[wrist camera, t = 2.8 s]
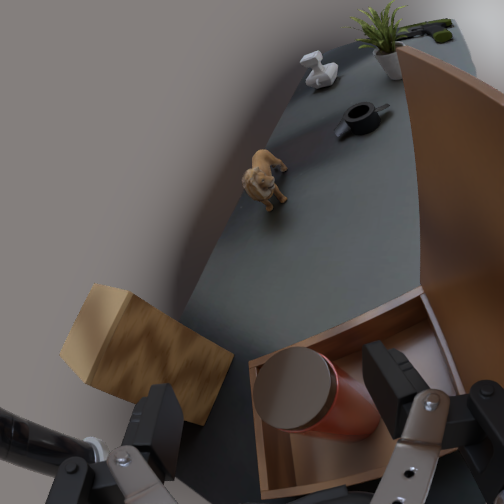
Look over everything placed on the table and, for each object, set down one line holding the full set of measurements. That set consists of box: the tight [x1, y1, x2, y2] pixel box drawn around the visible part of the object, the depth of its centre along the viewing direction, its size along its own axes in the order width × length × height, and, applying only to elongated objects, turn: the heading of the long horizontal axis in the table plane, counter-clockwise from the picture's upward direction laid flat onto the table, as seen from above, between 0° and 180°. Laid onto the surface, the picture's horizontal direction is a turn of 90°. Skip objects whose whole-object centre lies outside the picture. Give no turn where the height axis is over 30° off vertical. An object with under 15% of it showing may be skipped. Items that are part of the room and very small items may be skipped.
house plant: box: [350, 0, 408, 80], centre depth 48 cm, size 14×14×16 cm
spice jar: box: [253, 347, 381, 444], centre depth 22 cm, size 6×6×12 cm
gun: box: [391, 18, 452, 42], centre depth 57 cm, size 2×19×15 cm
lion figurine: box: [242, 150, 287, 211], centre depth 51 cm, size 15×5×9 cm, turn 2°
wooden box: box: [249, 286, 466, 500], centre depth 24 cm, size 18×14×6 cm
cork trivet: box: [60, 283, 133, 385], centre depth 30 cm, size 10×10×1 cm
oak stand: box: [90, 294, 234, 426], centre depth 36 cm, size 10×10×16 cm
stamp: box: [300, 51, 338, 89], centre depth 65 cm, size 9×7×8 cm
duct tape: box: [334, 102, 390, 136], centre depth 49 cm, size 8×10×3 cm
